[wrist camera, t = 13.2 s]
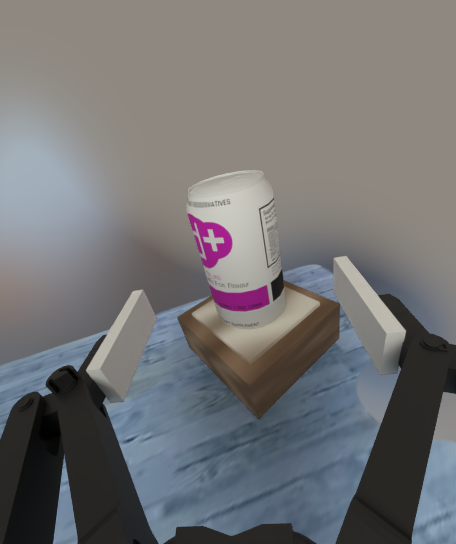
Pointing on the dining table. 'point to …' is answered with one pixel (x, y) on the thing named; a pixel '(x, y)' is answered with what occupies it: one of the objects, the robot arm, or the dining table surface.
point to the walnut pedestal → (264, 345)
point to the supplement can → (239, 246)
